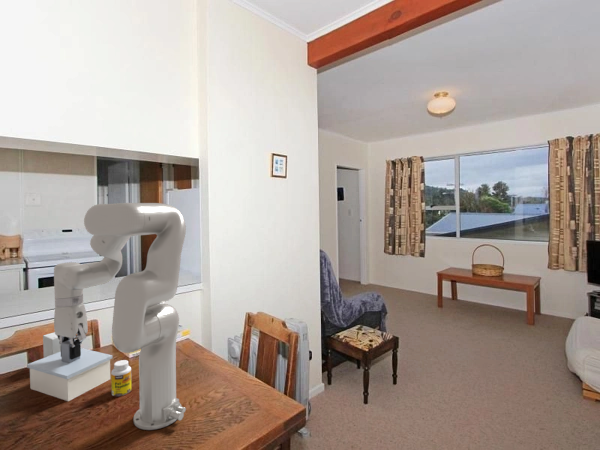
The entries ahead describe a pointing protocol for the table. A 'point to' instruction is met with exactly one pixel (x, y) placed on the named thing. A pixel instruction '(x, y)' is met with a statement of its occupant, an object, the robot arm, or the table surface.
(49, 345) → the supplement box
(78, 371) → the lid
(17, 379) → the table surface
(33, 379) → the storage box
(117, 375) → the supplement bottle
